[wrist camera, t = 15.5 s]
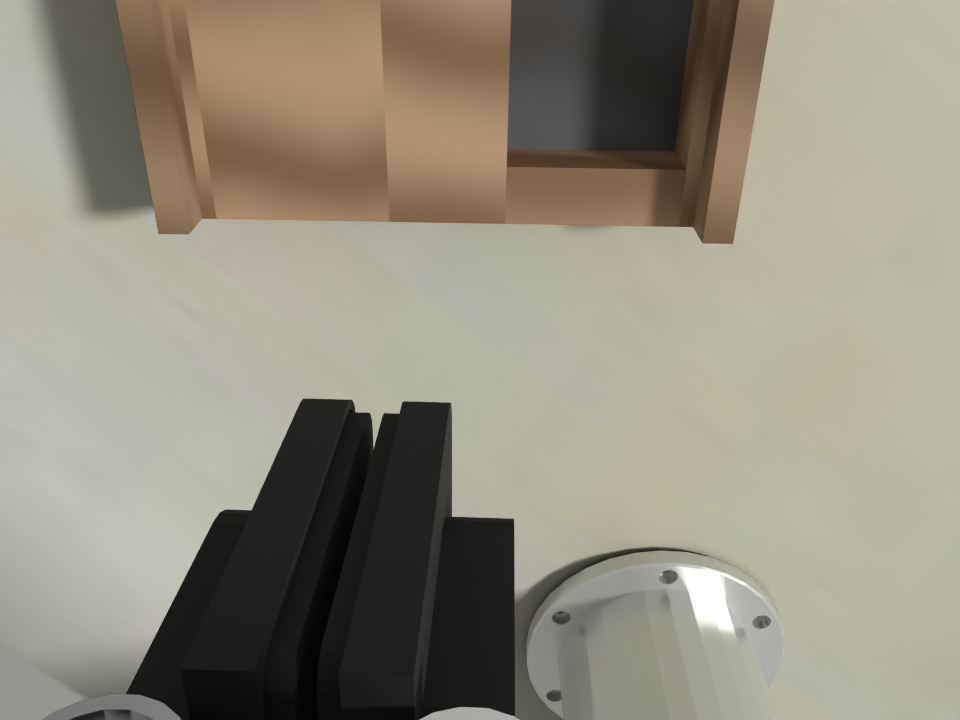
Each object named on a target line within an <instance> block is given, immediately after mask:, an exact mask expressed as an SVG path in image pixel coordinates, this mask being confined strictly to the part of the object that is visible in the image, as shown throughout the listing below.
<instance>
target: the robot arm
mask: <svg viewBox="0 0 960 720" xmlns="http://www.w3.org/2000/svg"><path fill="white" fill-rule="evenodd" d="M784 646H785V643H784V636H783V629H782V625H781V623H780V620H779V617H778V615H777V612H776V610H775V607H774V605H773V603H772V602H771V600H770V599H769V597H768V595H767V594H766V592H765V591H764V590H763V589H762V588H761V587H760V586H759V585H758V584H757V583H756V582H755V581H754V580H753V579H752V578H751V577H750V576H748V575H746V574H745V573H743V572H742V571H740V570H738V569H737V568H735V567H733V566H732V565H729V564H727V563H724V562H722V561H719V560H716V559H714V558H711V557H707V556H703V555H698V554H693V553H688V552H676V551H650V552H639V553H632V554H628V555H623V556H619V557H615V558H611V559H608V560H605V561H603V562H600V563H598V564H595V565H592V566H590V567H587V568H585V569H584V570H582V571H580V572H579V573H577V574H575V575H574V576H572V577H570V578H568V579H567V580H565V581H564V582H563V583H562V584H561V585H560V586H558V587H557V588H556V589H555V590H554V591H553V592H551V593H550V594H549V595H548V597H547V598H546V599H545V601H544V602H543V603H542V604H541V606H540V607H539V608H538V609H537V611H536V614H535V616H534V618H533V620H532V622H531V624H530V626H529V631H528V636H527V642H526V649H527V667H528V672H529V677H530V681H531V683H532V685H533V687H534V689H535V690H536V692H537V694H538V696H539V697H540V698H541V699H542V701H543V702H544V703H545V704H546V705H547V706H548V708H549V709H550V710H552V711H553V712H554V713H556V714H557V715H558V716H560V717H561V718H562V719H563V720H778V717H777V714H776V711H775V708H774V705H773V702H772V700H771V697H770V694H769V691H768V688H769V687H770V685H771V684H772V682H773V681H774V680H775V678H776V676H777V673H778V671H779V669H780V666H781V664H782V661H783V653H784ZM43 720H519V719H518V718H516V717H515V634H514V519H501V518H470V517H452V411H451V403H440V402H405V401H404V402H403V403H402V406H401V410H400V414H388V413H385V414H383V417H382V421H381V424H380V428H379V432H378V436H377V439H376V443H375V447H374V450H373V430H372V419H371V415H370V413H355V407H354V403H353V401H352V400H336V399H303V400H302V401H301V403H300V405H299V407H298V409H297V411H296V413H295V416H294V418H293V420H292V422H291V424H290V427H289V429H288V431H287V433H286V436H285V438H284V440H283V442H282V444H281V447H280V449H279V451H278V453H277V455H276V458H275V460H274V462H273V464H272V467H271V469H270V471H269V473H268V475H267V478H266V480H265V482H264V484H263V486H262V489H261V491H260V493H259V495H258V497H257V500H256V502H255V504H254V506H253V509H252V510H224V511H222V512H220V513H219V514H218V516H217V517H216V519H215V520H214V522H213V524H212V526H211V528H210V530H209V532H208V534H207V536H206V538H205V540H204V541H203V543H202V545H201V547H200V549H199V551H198V553H197V555H196V557H195V559H194V561H193V563H192V565H191V567H190V569H189V571H188V573H187V575H186V577H185V579H184V581H183V583H182V585H181V587H180V589H179V591H178V593H177V595H176V597H175V599H174V601H173V603H172V604H171V606H170V608H169V610H168V612H167V614H166V616H165V618H164V620H163V622H162V624H161V626H160V628H159V630H158V632H157V634H156V636H155V638H154V640H153V642H152V644H151V646H150V648H149V650H148V652H147V654H146V656H145V658H144V660H143V662H142V664H141V665H140V667H139V669H138V671H137V673H136V675H135V677H134V679H133V681H132V683H131V685H130V687H129V689H128V691H127V693H126V694H110V695H105V696H100V697H95V698H90V699H85V700H82V701H79V702H77V703H75V704H72V705H70V706H67V707H65V708H63V709H61V710H58V711H56V712H53V713H52V714H50V715H49V716H47V717H46V718H44V719H43Z"/></svg>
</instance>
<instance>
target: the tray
mask: <svg viewBox="0 0 960 720" xmlns="http://www.w3.org/2000/svg"><path fill="white" fill-rule="evenodd" d="M115 1H116V7H117V12H118V18H119V23H120V28H121V34H122V39H123V45H124V50H125V55H126V61H127V66H128V71H129V77H130V82H131V88H132V93H133V98H134V104H135V109H136V115H137V120H138V125H139V131H140V136H141V142H142V147H143V152H144V158H145V163H146V169H147V174H148V179H149V185H150V190H151V195H152V201H153V206H154V212H155V217H156V222H157V228H158V233H159V234H189V233H190V232H191V231H192V230H193V229H194V228H195V226H196V225H197V224H198V223H199V222H200V221H201V219H260V220H318V221H376V222H435V223H493V224H551V225H610V226H668V227H694V229H695V231H696V233H697V234H698V236H699V238H700V240H701V241H702V243H720V244H733V240H734V234H735V228H736V222H737V217H738V211H739V205H740V199H741V193H742V187H743V181H744V175H745V169H746V164H747V158H748V152H749V146H750V140H751V134H752V128H753V122H754V117H755V111H756V105H757V99H758V93H759V87H760V81H761V75H762V70H763V64H764V58H765V52H766V46H767V40H768V34H769V28H770V23H771V17H772V11H773V5H774V0H115Z"/></svg>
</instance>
